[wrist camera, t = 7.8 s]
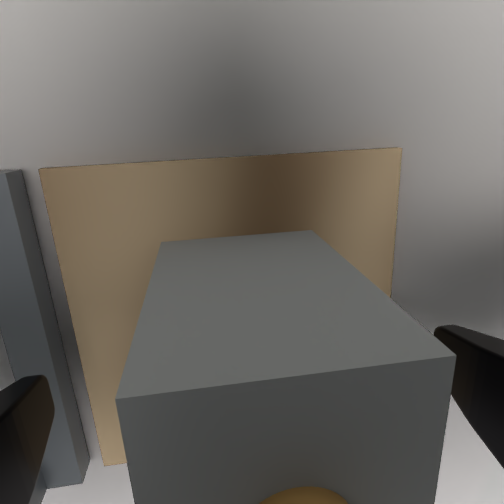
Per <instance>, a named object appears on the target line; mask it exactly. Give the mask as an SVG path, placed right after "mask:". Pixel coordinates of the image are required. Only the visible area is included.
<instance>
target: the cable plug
mask: <svg viewBox="0 0 504 504" xmlns="http://www.w3.org/2000/svg"><path fill="white" fill-rule="evenodd" d="M456 356H457V355H456V354H454V353H453V352H452V351H451V350H450V349H449V348H447V347H446V346H445V345H444V344H443V343H442V342H441V341H439V340H438V339H437V338H436V337H435V336H434V335H432V334H431V333H430V332H429V331H428V330H427V329H426V328H424V327H423V326H422V325H421V324H420V323H419V322H417V321H416V320H415V319H414V318H413V317H412V316H411V315H409V314H408V313H407V312H406V311H405V310H404V309H402V308H401V307H400V306H399V305H398V304H397V303H395V302H394V301H393V300H392V299H391V298H390V297H389V296H387V295H386V294H385V293H384V292H383V291H382V290H380V289H379V288H378V287H377V286H376V285H375V284H374V283H372V282H371V281H370V280H369V279H368V278H367V277H365V276H364V275H363V274H362V273H361V272H360V271H359V270H357V269H356V268H355V267H354V266H353V265H352V264H350V263H349V262H348V261H347V260H346V259H345V258H344V257H342V256H341V255H340V254H339V253H338V252H337V251H335V250H334V249H333V248H332V247H331V246H330V245H329V244H327V243H326V242H325V241H324V240H323V239H322V238H320V237H319V236H318V235H317V234H316V233H315V232H313V231H312V230H305V231H293V232H280V233H268V234H255V235H243V236H230V237H218V238H205V239H193V240H180V241H168V242H161V244H160V248H159V251H158V255H157V258H156V261H155V265H154V268H153V272H152V275H151V278H150V282H149V285H148V289H147V292H146V295H145V299H144V302H143V306H142V309H141V312H140V316H139V319H138V323H137V326H136V329H135V333H134V336H133V340H132V343H131V346H130V350H129V353H128V357H127V360H126V363H125V367H124V370H123V374H122V377H121V380H120V384H119V387H118V390H117V394H116V397H115V402H116V407H117V413H118V418H119V423H120V428H121V434H122V439H123V444H124V449H125V455H126V460H127V465H128V470H129V476H130V481H131V486H132V491H133V497H134V502H135V504H434V502H435V495H436V488H437V482H438V475H439V469H440V462H441V455H442V449H443V442H444V435H445V429H446V422H447V415H448V409H449V402H450V396H451V389H452V382H453V376H454V369H455V362H456Z"/></svg>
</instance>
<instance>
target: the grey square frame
mask: <svg viewBox="0 0 504 504" xmlns="http://www.w3.org/2000/svg"><path fill="white" fill-rule="evenodd" d="M0 330H1V333H2V337H3V340H4V344H5V347H6V351H7V354H8V357H9V361H10V364H11V368H12V371H13V375H14V378H15V381H18V380H19V379H21V378H22V377H25V376H32V375H44V376H46V378H47V379H48V382H49V386H50V390H51V394H52V398H53V401H54V406H55V415H54V420H53V423H52V427H51V431H50V434H49V438H48V442H47V446H46V449H45V453H44V457H43V460H42V464H41V468H40V471H39V475H38V478H37V482H36V485H35V488H34V491H33V494H32V497H31V499H30V502H29V504H41V502H42V500H43V497H44V495H45V492H46V490H47V489H50V488H56V487H62V486H69V485H75V484H82V483H83V481H84V478H85V475H86V471H87V468H88V465H89V462H90V459H89V455H88V451H87V447H86V442H85V438H84V434H83V430H82V425H81V421H80V417H79V413H78V408H77V404H76V400H75V396H74V392H73V387H72V383H71V379H70V375H69V370H68V366H67V362H66V358H65V353H64V349H63V345H62V341H61V337H60V332H59V328H58V324H57V320H56V315H55V311H54V307H53V303H52V298H51V294H50V290H49V286H48V282H47V277H46V273H45V269H44V265H43V260H42V256H41V252H40V248H39V243H38V239H37V235H36V231H35V227H34V222H33V218H32V214H31V210H30V205H29V201H28V197H27V193H26V188H25V184H24V180H23V176H22V172H21V169H19V170H2V171H0Z"/></svg>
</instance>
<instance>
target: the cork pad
mask: <svg viewBox="0 0 504 504" xmlns="http://www.w3.org/2000/svg"><path fill="white" fill-rule="evenodd" d="M401 157H402V148H397V147H395V148H378V149H361V150H344V151H326V152H309V153H292V154H275V155H258V156H241V157H224V158H207V159H190V160H173V161H156V162H139V163H122V164H105V165H88V166H70V167H53V168H42V169H38V170H39V175H40V179H41V184H42V188H43V193H44V197H45V202H46V206H47V211H48V215H49V220H50V224H51V229H52V233H53V238H54V242H55V247H56V251H57V256H58V260H59V265H60V269H61V274H62V279H63V283H64V288H65V292H66V297H67V301H68V306H69V310H70V315H71V319H72V324H73V328H74V333H75V337H76V342H77V346H78V351H79V355H80V360H81V364H82V369H83V373H84V378H85V382H86V387H87V391H88V396H89V400H90V405H91V409H92V414H93V418H94V423H95V427H96V432H97V436H98V441H99V445H100V450H101V454H102V459H103V463H104V466H109V465H116V464H123V463H127V460H126V455H125V449H124V444H123V439H122V434H121V428H120V423H119V418H118V413H117V407H116V402H115V397H116V394H117V390H118V387H119V384H120V380H121V377H122V374H123V370H124V367H125V363H126V360H127V357H128V353H129V350H130V346H131V343H132V340H133V336H134V333H135V329H136V326H137V323H138V319H139V316H140V312H141V309H142V306H143V302H144V299H145V295H146V292H147V289H148V285H149V282H150V278H151V275H152V272H153V268H154V265H155V261H156V258H157V255H158V251H159V248H160V244H161V242H168V241H180V240H193V239H205V238H218V237H230V236H243V235H255V234H268V233H280V232H293V231H305V230H312V231H313V232H315V233H316V234H317V235H318V236H319V237H320V238H322V239H323V240H324V241H325V242H326V243H327V244H329V245H330V246H331V247H332V248H333V249H334V250H335V251H337V252H338V253H339V254H340V255H341V256H342V257H344V258H345V259H346V260H347V261H348V262H349V263H350V264H352V265H353V266H354V267H355V268H356V269H357V270H359V271H360V272H361V273H362V274H363V275H364V276H365V277H367V278H368V279H369V280H370V281H371V282H372V283H374V284H375V285H376V286H377V287H378V288H379V289H380V290H382V291H383V292H384V293H385V294H386V295H387V296H389V297H390V298H391V286H392V273H393V260H394V247H395V234H396V221H397V208H398V196H399V183H400V170H401Z"/></svg>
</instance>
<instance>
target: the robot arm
mask: <svg viewBox="0 0 504 504" xmlns="http://www.w3.org/2000/svg"><path fill="white" fill-rule="evenodd" d="M434 336H435V337H436V338H437V339H438V340H439V341H441V342H442V343H443V344H444V345H445V346H446V347H447V348H449V349H450V350H451V351H452V352H453V353H454V354H456V355H457V356H456V362H455V369H454V376H453V382H452V389H451V395H452V397H453V398H454V400H455V401H456V403H457V405H458V406H459V408H460V409H461V411H462V413H463V414H464V416H465V417H466V419H467V420H468V422H469V423H470V424H471V426H472V427H473V429H474V430H475V431H476V433H477V434H478V435H479V437H480V438H481V439H482V441H483V442H484V443H485V445H486V446H487V447H488V449H489V450H490V451H491V453H492V454H493V455H494V456H495V458H496V459H497V460H498V462H499V463H500V464H501V466H502V467H503V468H504V340H502V339H499V338H495V337H492V336H489V335H486V334H482V333H479V332H476V331H473V330H470V329H466V328H463V327H460V326H457V325H445V326H438V327H437V328H436V329H435V331H434ZM54 415H55V406H54V401H53V398H52V394H51V390H50V386H49V382H48V379H47V378H46V376H44V375H32V376H25V377H22V378H21V379H19V380H18V381H16V382H14V383H13V384H11V385H10V386H8V387H7V388H5V389H3V390H2V391H0V504H29V502H30V499H31V497H32V494H33V491H34V488H35V485H36V482H37V478H38V475H39V471H40V468H41V464H42V460H43V457H44V453H45V449H46V446H47V442H48V438H49V434H50V431H51V427H52V423H53V420H54Z"/></svg>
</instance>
